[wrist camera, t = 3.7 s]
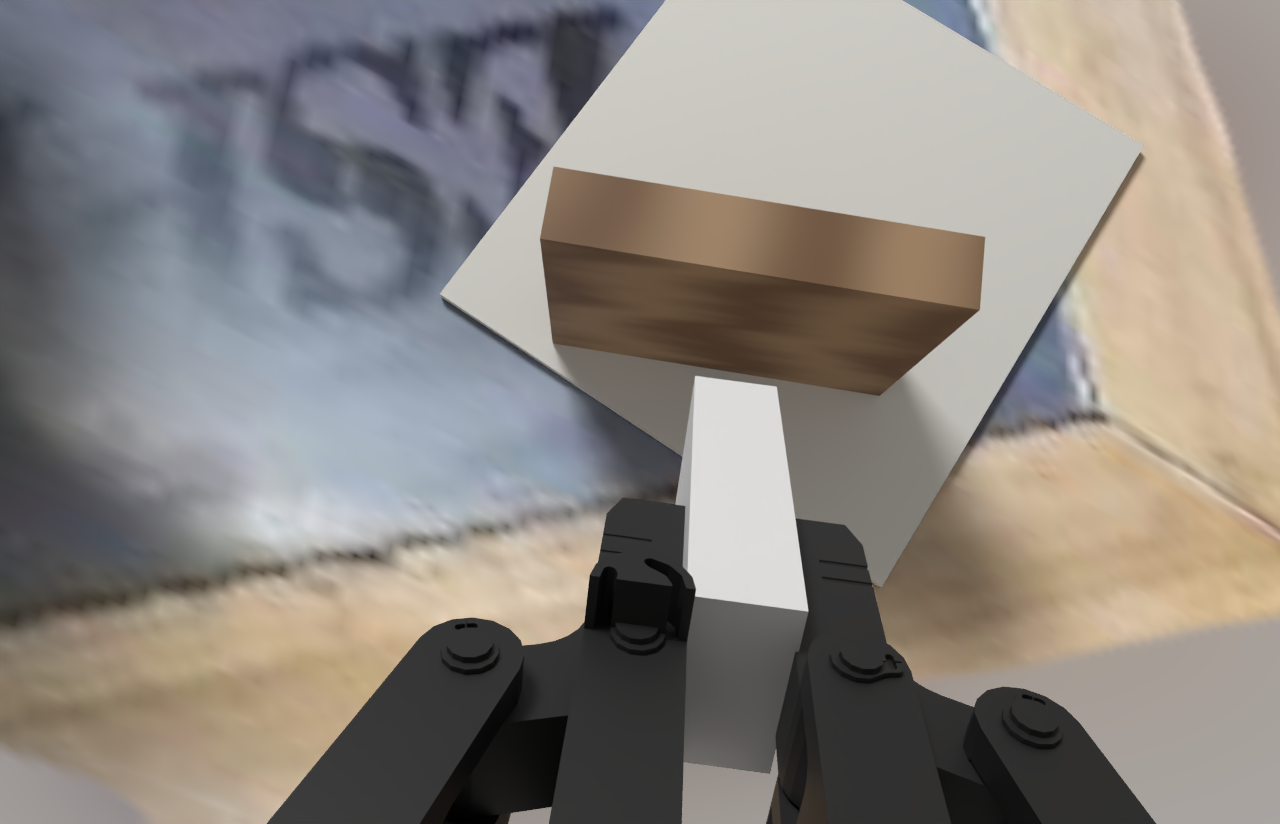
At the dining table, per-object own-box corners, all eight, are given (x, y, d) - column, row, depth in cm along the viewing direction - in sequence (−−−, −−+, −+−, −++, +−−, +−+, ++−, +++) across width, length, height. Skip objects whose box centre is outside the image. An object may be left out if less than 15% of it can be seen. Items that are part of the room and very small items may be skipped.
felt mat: (441, 297, 42) (439, 293, 42) (739, -91, 47) (740, -97, 47) (879, 587, 40) (882, 586, 40) (1139, 149, 45) (1144, 145, 45)
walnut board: (552, 343, 41) (539, 238, 31) (562, 288, 42) (553, 166, 31) (879, 395, 42) (979, 309, 31) (884, 340, 42) (985, 236, 31)
